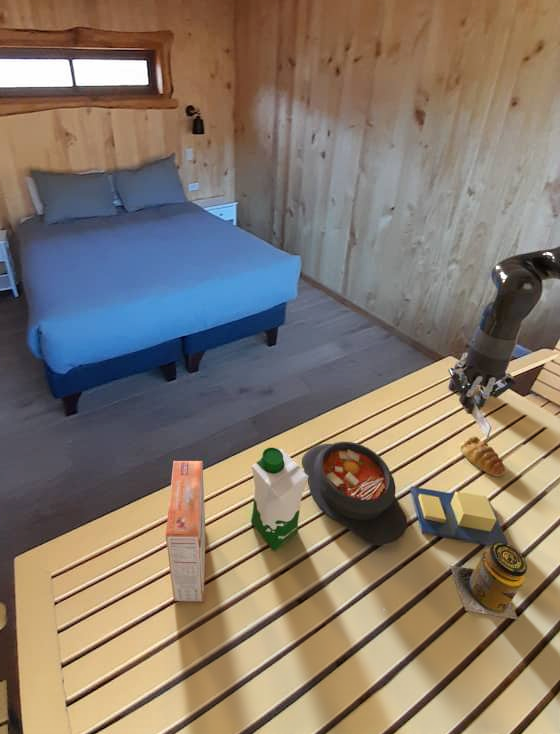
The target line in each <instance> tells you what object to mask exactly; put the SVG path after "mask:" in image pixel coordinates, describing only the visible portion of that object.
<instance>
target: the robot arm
mask: <svg viewBox="0 0 560 734" xmlns="http://www.w3.org/2000/svg"><path fill="white" fill-rule="evenodd" d="M490 278H491V281H492V283H493V285H494V286H495V289H496V295H495V298H494V300H493V301H490V302H488V303H487V304H486V305H485V307H484V309H483V311H482V313H481V317H480V320H479V323H478V325H477V327H476V329H475V331H474V333H473V336H472V339H471V342H470V344H469V345H470V346H469V348H468V350H467V353H468V354H467V357H466V362H465V363H464V364H463V365H462V367H461V368H460V369H456V370H454V368H453V367H449V368H448V370H447V371H448V373H449V375H450V379H451V378H452V380H453V382H454V385H455V387H456V389H457V391H456V392H458V394H460V395H461V397H460V396H459V399H460V401H459V403H460V402H461V403H460V405H461V404H462V405H463V406H462V405H461V406H462V408H463V407H464V408H468V406H469V403H470V401H471V399H472V395H473V394H474V392H475V391H476V394H475V396H474V397H475V399H476V400H477V402H478V403H479V407H478V408H479V410H480V411H481V408H484V406H485V404H486V401H487V400H488V399H489V398H491V397H493V398H495V399H496V398H497V399H498V398H499V397H500V396H501V395H503V394H504V393H506V392H507V391H508V390H509V389H511V388H513V386H515V385H516V384H517V382H516V380H515V378H514V377H513V376H512V375H511V374H512V373H507V370H508V367H509V365H510V363H511V360H512V357H513V354H514V352H515V350H516V347H517V344H518V338H519V336H520V333H521V331H522V328H523V325H524V322H525V320H526V319H527V318H528V317H529V315H530V314H531V313H532V312H533V310H534V309H535V308H536V306H537V305H538V304H539V302H540V300H541V298H542V296H543V292H544V282H543V281H546V280H552V279H553V280H554V279H555V280H559V281H560V245H559V246H557V247H553V248H549V249H548V248H547V249H542V250H536V251H530V252H525V253H521V254H516V255H512V256H509V257H506V258H505V259H503V260H500V261H499V262H498V263H496V264H495V265H494V267H492V269H491V272H490ZM462 374H465V379H464V382H463V384H462V385H461V383H460V380H461V378H462ZM477 390H478V391H477ZM464 408H463V409H464Z"/></svg>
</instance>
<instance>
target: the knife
mask: <svg viewBox="0 0 560 734" xmlns="http://www.w3.org/2000/svg"><path fill="white" fill-rule="evenodd" d="M460 397H461V394H460V395H459V399H458V402H459V403H460V405H461V406H462V408H463V409H464V411H465V413H466V414H467V415H471V416H472V418H473V420H474V421H475V423H476V424H477V425H478V427H479V428H480V430H481V431H482V433H483V434H484V436H485V438H486V439H489V437H490V434H491V431H492V427H493V426H491V424H490V423H489V421H488V419H487V418H486V417H485V416H484V414H483V412H482V411H481V409H480V410H479V408H478V407H479V403H478V402H477V400H476V399H475V396H474V395H473V394H472V399H471V401H470V403H469V406H468V408H464V407H463V405H462V404H461V402H460Z"/></svg>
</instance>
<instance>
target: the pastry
mask: <svg viewBox="0 0 560 734" xmlns="http://www.w3.org/2000/svg"><path fill="white" fill-rule="evenodd" d="M459 448H460V451H461V453H462V455H463V456H464V457H465V458H466V459H467V460H468V461H469V462H470V463H472V464H473V465H475V467H477V468H479V469H480V470H481V471H483V472H484V473H486V474H489V475H490V476H491V475H492V476H493V477H500V476H502V475H503V474H504V473H506V467H505V465H504V463H503V460H502V459H501V458H500V457H499V454H498V453H497V452H495V450H494V448H493V447H492V446H489V444H488V443H487V442H486V440H481V439H480V438H479V437H478V436H475V435H474V436H470V437H468V438H467V439H465V440H464V441H463V442H461V444H460V445H459Z"/></svg>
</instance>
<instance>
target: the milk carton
mask: <svg viewBox="0 0 560 734" xmlns="http://www.w3.org/2000/svg"><path fill="white" fill-rule="evenodd" d="M251 471H252V477H253V483H254V487H253V488H254V489H253V504H252V505H253V506H252V514H251V520H250V524H252V526H253V527H254V528H255V530H256V531H257V532H258V534H259V535H260V536H261V538H263V540H264V541H265V543H266V544H267V545H268V547H269V548H270V549H271V550H272V552H275V551H276V550H277V549H279V548H280V547H281V546H282V545H284V544H285V543H286V542H288V540H290V539H291V538H292V537H294V536H295V535H296V534H298V533H299V516H300V512H301V511H300V510H301V503H302V498H303V493H304V491H305V487H306V484H307V483H308V475H307V474H306V473H305V471H304V469H303V468H301V467H300V465H299V464H298V463H296V461H294V460H293V458H292V457H290V456H289V454H287V453H286V452H285V451H284V450H283V449H282V448H281V447H279V448H277V447H267V448H265V449H264V451H262V455H261V458H260V459H259V460H258V461H256V462H255V463H254V464H253V465H252V466H251Z"/></svg>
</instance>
